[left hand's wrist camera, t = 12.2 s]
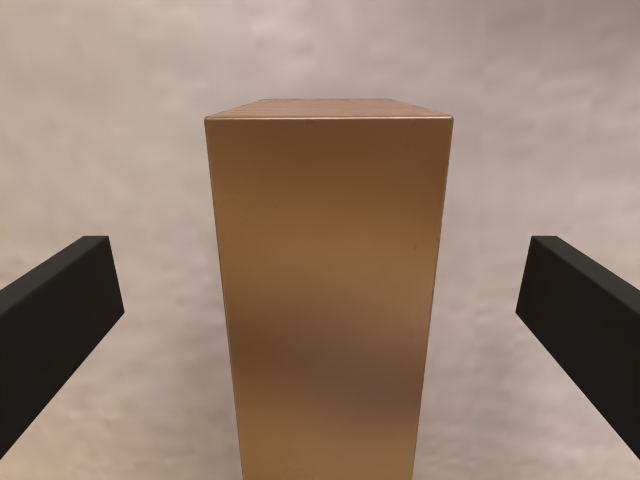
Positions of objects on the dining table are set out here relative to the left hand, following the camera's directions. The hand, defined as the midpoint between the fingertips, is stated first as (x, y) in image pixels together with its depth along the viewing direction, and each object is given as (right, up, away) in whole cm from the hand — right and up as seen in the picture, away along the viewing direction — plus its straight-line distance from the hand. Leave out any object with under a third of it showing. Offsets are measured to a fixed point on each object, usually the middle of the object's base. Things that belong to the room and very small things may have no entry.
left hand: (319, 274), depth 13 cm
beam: (0, -18, +12) cm, 21 cm away
